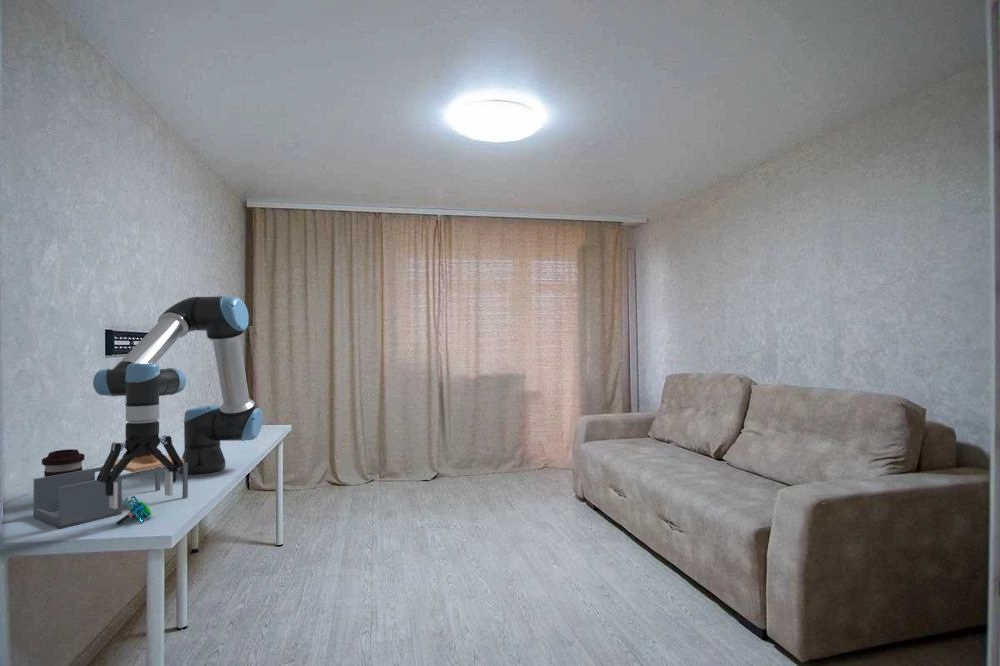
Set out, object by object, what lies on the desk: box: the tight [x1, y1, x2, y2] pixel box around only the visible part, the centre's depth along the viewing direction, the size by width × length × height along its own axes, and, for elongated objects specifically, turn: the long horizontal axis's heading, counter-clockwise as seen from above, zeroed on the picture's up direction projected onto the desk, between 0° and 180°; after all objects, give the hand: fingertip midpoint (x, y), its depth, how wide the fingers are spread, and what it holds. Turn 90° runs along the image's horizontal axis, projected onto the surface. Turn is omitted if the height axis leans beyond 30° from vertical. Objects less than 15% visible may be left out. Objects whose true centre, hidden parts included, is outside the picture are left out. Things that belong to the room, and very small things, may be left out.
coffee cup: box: [41, 448, 86, 477], centre depth 163 cm, size 10×10×15 cm
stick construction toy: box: [115, 495, 152, 525], centre depth 146 cm, size 12×7×8 cm
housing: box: [33, 463, 189, 530], centre depth 158 cm, size 32×17×10 cm, turn 148°
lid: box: [113, 454, 184, 473], centre depth 165 cm, size 14×17×4 cm
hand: (142, 501), depth 146 cm, fingers open, 13 cm apart
